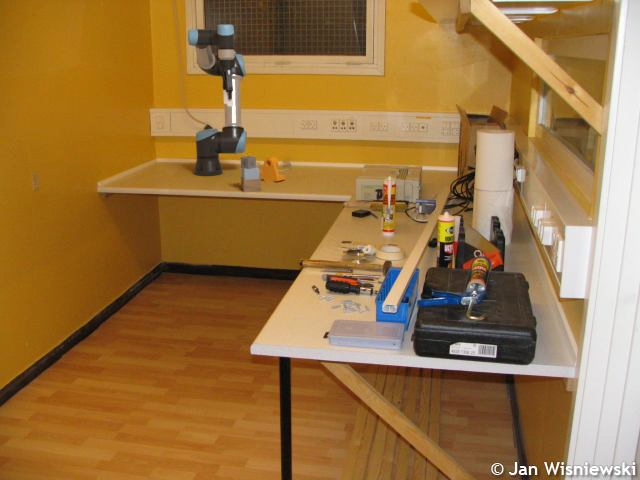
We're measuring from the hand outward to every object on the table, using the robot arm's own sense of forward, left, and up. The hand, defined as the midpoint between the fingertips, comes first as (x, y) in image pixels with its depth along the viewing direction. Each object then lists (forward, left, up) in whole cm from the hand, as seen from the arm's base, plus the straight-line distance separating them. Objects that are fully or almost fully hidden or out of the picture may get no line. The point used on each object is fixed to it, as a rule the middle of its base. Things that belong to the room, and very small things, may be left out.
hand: (228, 105), depth 323 cm
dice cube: (+15, +7, -28) cm, 33 cm away
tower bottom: (+15, +8, -39) cm, 42 cm away
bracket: (-5, +22, -39) cm, 45 cm away
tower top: (+15, +7, -33) cm, 37 cm away
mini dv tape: (+78, +70, -39) cm, 112 cm away
